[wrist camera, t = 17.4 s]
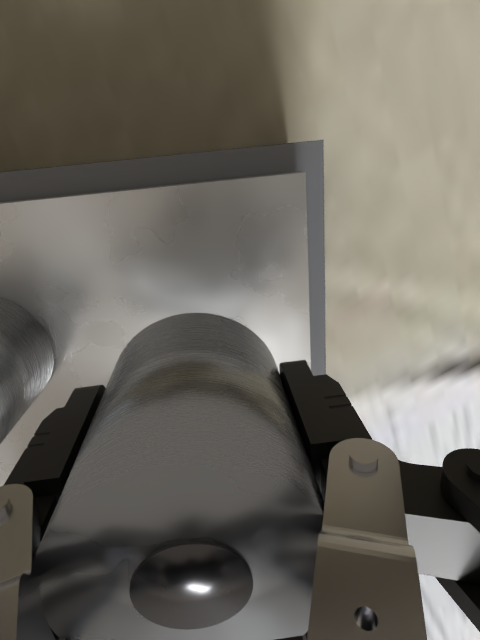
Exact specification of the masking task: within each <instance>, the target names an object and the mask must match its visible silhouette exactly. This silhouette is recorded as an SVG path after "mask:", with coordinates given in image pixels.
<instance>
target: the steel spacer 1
mask: <svg viewBox="0 0 480 640" xmlns="http://www.w3.org/2000/svg"><path fill="white" fill-rule="evenodd" d="M53 366H54V354H53V349H52V345H51V342H50V340H49V337H48V335H47V334H46V332H45V330H44V329H43V327H42V326H41V324H40V323H39V322H38V321H37V320H36V319H35V318H34V317H33V316H32V315H31V314H30V313H29V312H28V311H26V310H25V309H24V308H22V307H21V306H19V305H18V304H16V303H14V302H12V301H10V300H8V299H5V298H3V297H0V444H1V443H2V442H3V440H4V439H5V438H6V436H7V435H8V434H9V433H10V431H11V430H12V429H13V427H14V426H15V425H16V424H17V422H18V421H19V420H20V419H21V417H22V416H23V415H24V413H25V412H26V411H27V410H28V408H29V407H30V406H31V405H32V403H33V402H34V401H35V399H36V398H37V397H38V396H39V394H40V393H41V392H42V390H43V389H44V388H45V387H46V385H47V383H48V382H49V380H50V378H51V375H52V371H53Z"/></svg>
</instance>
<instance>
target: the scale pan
mask: <svg viewBox="0 0 480 640" xmlns="http://www.w3.org/2000/svg"><path fill="white" fill-rule="evenodd" d="M0 297H3V298H5V299H8V300H10V301H12V302H14V303H16V304H18V305H19V306H21V307H22V308H24V309H25V310H26V311H28V312H29V313H30V314H31V315H32V316H33V317H34V318H35V319H36V320H37V321H38V322H39V323H40V324H41V326H42V327H43V329H44V330H45V332H46V334H47V335H48V337H49V340H50V342H51V345H52V349H53V354H54V366H53V371H52V375H51V378H50V380H49V382H48V383H47V385H46V387H45V388H44V389H43V390H42V392H41V393H40V394H39V396H38V397H37V398H36V399H35V401H34V402H33V403H32V405H31V406H30V407H29V408H28V410H27V411H26V412H25V413H24V415H23V416H22V417H21V419H20V420H19V421H18V422H17V424H16V425H15V426H14V427H13V429H12V430H11V431H10V433H9V434H8V435H7V436H6V438H5V439H4V440H3V442H2V443H1V444H0V487H1V486H3V485H4V484H5V482H6V480H7V479H8V477H9V475H10V474H11V472H12V470H13V469H14V467H15V465H16V464H17V462H18V460H19V459H20V457H21V455H22V454H23V452H24V450H25V449H26V448H27V447H28V446H27V445H28V444H29V442H30V440H31V439H32V437H34V434H35V432H36V430H37V429H38V427H39V425H40V424H41V422H42V420H44V419H45V418H46V417H47V416H48V415H49V414H51V413H52V412H53V411H54V410H55V409H56V408H62V407H65V405H66V403H67V401H68V399H69V398H70V396H71V394H72V392H73V390H74V389H75V388H80V387H88V386H96V385H104V386H105V388H106V386H107V384H108V382H109V379H110V377H111V374H112V372H113V370H114V367H115V365H116V363H117V360H118V358H119V356H120V354H121V352H122V351H123V349H124V348H125V346H126V345H127V344H128V343H129V342H130V340H131V339H132V338H133V337H134V336H135V335H137V334H138V333H139V332H140V331H141V330H143V329H144V328H146V327H147V326H149V325H151V324H152V323H155V322H157V321H159V320H161V319H164V318H167V317H170V316H173V315H178V314H184V313H209V314H215V315H220V316H223V317H227V318H230V319H232V320H234V321H237V322H239V323H241V324H242V325H244V326H246V327H247V328H249V329H250V330H252V331H253V332H254V333H255V334H256V335H258V336H259V338H260V339H261V340H262V341H263V342H264V343H265V344H266V346H267V347H268V349H269V350H270V352H271V354H272V356H273V358H274V360H275V362H276V365H277V368H278V371H279V365H280V363H282V362H290V361H298V360H306V362H307V364H308V366H309V368H310V370H311V351H310V314H309V276H308V239H307V202H306V172H302V171H299V172H289V173H279V174H270V175H260V176H250V177H240V178H231V179H221V180H211V181H202V182H192V183H182V184H173V185H163V186H153V187H143V188H134V189H124V190H114V191H105V192H95V193H85V194H76V195H66V196H56V197H46V198H37V199H27V200H17V201H8V202H0ZM279 374H280V372H279Z"/></svg>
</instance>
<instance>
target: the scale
mask: <svg viewBox="0 0 480 640" xmlns="http://www.w3.org/2000/svg"><path fill="white" fill-rule="evenodd" d="M299 171H302V172H306V202H307V239H308V276H309V314H310V351H311V372H312V374H313V376H317V375H324V374H326V353H325V256H324V159H323V140H317V141H307V142H297V143H287V144H277V145H267V146H257V147H247V148H237V149H228V150H218V151H208V152H198V153H188V154H178V155H168V156H158V157H148V158H138V159H128V160H118V161H108V162H98V163H88V164H78V165H68V166H58V167H48V168H38V169H28V170H18V171H8V172H0V202H8V201H17V200H27V199H37V198H46V197H56V196H66V195H76V194H85V193H95V192H105V191H114V190H124V189H134V188H143V187H153V186H163V185H173V184H182V183H192V182H202V181H211V180H221V179H231V178H240V177H250V176H260V175H270V174H279V173H289V172H299ZM302 637H303V640H307V639H306V634H304V635H303V636H302Z"/></svg>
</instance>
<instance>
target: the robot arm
mask: <svg viewBox="0 0 480 640" xmlns="http://www.w3.org/2000/svg"><path fill="white" fill-rule="evenodd" d="M279 372H280V377H281V379H282V382H283V385H284V388H285V391H286V394H287V397H288V399H289V402H290V405H291V408H292V411H293V414H294V417H295V419H296V422H297V425H298V428H299V431H300V434H301V437H302V440H303V442H304V445H305V448H306V451H307V454H308V457H309V460H310V462H311V465H312V468H313V471H314V474H315V477H316V480H317V482H318V485H319V488H320V491H321V494H322V497H323V500H324V502H325V504H324V514H323V524H322V531H319V535H318V542H317V551H316V561H315V570H314V579H313V589H312V598H311V607H310V617H309V626H308V635H307V640H427V635H426V628H425V620H424V613H423V605H422V597H421V590H420V582H419V575H418V574H423V575H429V576H435V577H436V579H437V580H438V581H439V583H440V584H441V585H442V586H443V588H444V589H445V590H446V591H447V592H448V594H449V595H450V596H451V597H452V599H453V600H454V601H455V602H456V603H457V605H458V606H459V607H460V608H461V610H462V611H463V612H464V613H465V614H466V616H467V617H468V618H469V619H470V621H471V622H472V623H473V624H474V625H475V627H476V628H477V629H478V630H479V632H480V450H479V449H458V450H455V451H452V452H450V453H449V454H448V455H447V456H446V457H445V458H444V461H443V466H442V467H436V466H427V465H418V464H411V463H406V462H402V461H400V460H398V459H397V457H396V455H395V454H394V452H393V451H392V450H390V449H389V448H388V447H387V446H385V445H383V444H382V443H380V442H377V441H374V440H372V438H371V436H370V435H369V433H368V431H367V430H366V428H365V426H364V425H363V423H362V421H361V419H360V418H359V416H358V414H357V413H356V411H355V409H354V408H353V406H351V403H350V401H349V399H348V397H346V394H345V392H344V391H343V389H342V387H341V386H340V384H339V383H338V382H337V381H335V380H334V379H332V378H331V377H329V376H328V375H326V374H324V375H317V376H313V374H312V372H311V370H310V368H309V366H308V364H307V362H306V360H298V361H290V362H282V363H280V365H279ZM105 389H106V388H105V386H104V385H96V386H88V387H80V388H75V389H74V390H73V392H72V394H71V396H70V398H69V399H68V401H67V403H66V405H65V407H62V408H56V409H55V410H54V411H53V412H52V413H51V414H49V415H48V416H47V417H46V418H45V419H44V420H42V422H41V424H40V425H39V427H38V429H37V430H36V432H35V434H34V437H32V439H31V440H30V442H29V444H28V445H27V446H28V447H27V448H26V449H25V450H24V452H23V454H22V455H21V457H20V459H19V460H18V462H17V464H16V465H15V467H14V469H13V470H12V472H11V474H10V475H9V477H8V479H7V480H6V482H5V484H4V485H3V486H1V487H0V640H67V638H66V636H62V637H58V636H57V635H56V634H55V633H54V632H53V630H52V629H51V628H50V626H49V624H48V622H47V620H46V617H45V614H44V611H43V606H42V601H41V592H40V575H39V572H38V570H37V567H36V565H35V563H34V560H35V556H36V553H37V550H38V548H39V545H40V543H41V541H42V538H43V536H44V534H45V531H46V529H47V526H48V524H49V522H50V519H51V517H52V515H53V512H54V510H55V507H56V505H57V503H58V500H59V498H60V496H61V493H62V491H63V488H64V486H65V484H66V481H67V479H68V477H69V474H70V472H71V469H72V467H73V465H74V462H75V460H76V458H77V455H78V453H79V450H80V448H81V446H82V443H83V441H84V439H85V436H86V434H87V431H88V429H89V427H90V424H91V422H92V420H93V417H94V415H95V412H96V410H97V408H98V405H99V403H100V401H101V398H102V396H103V393H104V391H105ZM276 640H303V637H302V635H301V636H295V637H289V638H282V639H276Z"/></svg>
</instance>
